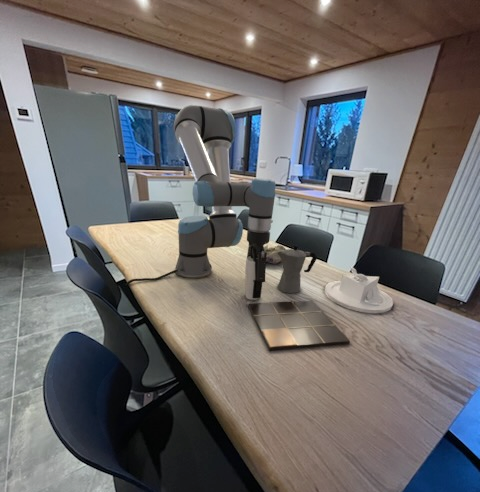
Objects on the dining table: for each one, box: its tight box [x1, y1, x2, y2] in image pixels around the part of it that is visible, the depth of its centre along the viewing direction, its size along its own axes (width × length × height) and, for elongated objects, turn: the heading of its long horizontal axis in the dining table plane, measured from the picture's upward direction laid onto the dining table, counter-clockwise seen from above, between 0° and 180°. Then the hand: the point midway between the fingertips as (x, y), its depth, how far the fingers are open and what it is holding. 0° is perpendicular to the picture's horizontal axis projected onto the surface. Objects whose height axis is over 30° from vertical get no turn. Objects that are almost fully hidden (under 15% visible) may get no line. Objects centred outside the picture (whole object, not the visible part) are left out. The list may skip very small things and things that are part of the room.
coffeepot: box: [277, 244, 318, 294], centre depth 102 cm, size 15×9×18 cm, turn 92°
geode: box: [264, 244, 287, 265], centre depth 133 cm, size 17×9×15 cm
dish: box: [324, 266, 394, 314], centre depth 101 cm, size 25×25×11 cm
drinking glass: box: [244, 256, 260, 301], centre depth 94 cm, size 7×7×15 cm
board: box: [247, 300, 351, 352], centre depth 83 cm, size 24×24×1 cm
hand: (252, 291), depth 96 cm, fingers open, 9 cm apart
